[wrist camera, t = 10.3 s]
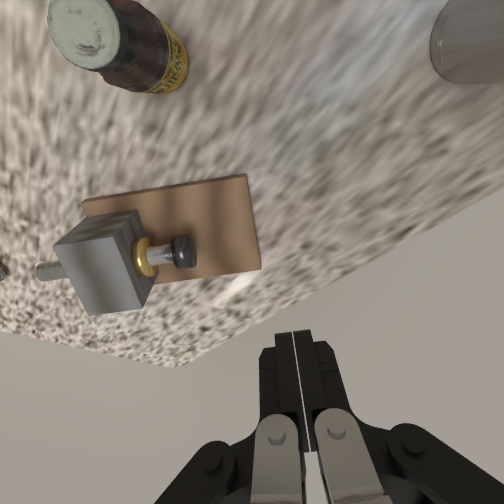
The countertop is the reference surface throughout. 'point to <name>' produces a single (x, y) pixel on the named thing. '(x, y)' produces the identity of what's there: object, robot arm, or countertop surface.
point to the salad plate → (2, 274)
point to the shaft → (140, 257)
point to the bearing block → (158, 239)
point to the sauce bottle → (119, 43)
